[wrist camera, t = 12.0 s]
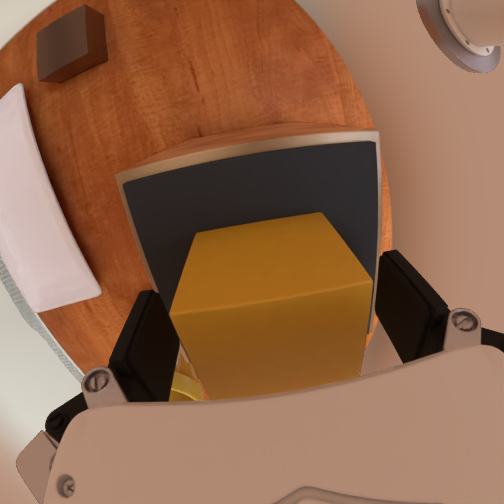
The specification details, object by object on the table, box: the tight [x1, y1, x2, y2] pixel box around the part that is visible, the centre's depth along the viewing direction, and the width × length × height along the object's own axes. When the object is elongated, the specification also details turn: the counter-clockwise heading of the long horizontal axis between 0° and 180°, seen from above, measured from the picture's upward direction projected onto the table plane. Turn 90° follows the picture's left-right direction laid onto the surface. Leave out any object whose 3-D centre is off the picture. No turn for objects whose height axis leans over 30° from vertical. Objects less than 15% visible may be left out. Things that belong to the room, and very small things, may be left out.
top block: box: [169, 212, 373, 400], centre depth 11 cm, size 6×6×6 cm
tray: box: [0, 83, 102, 313], centre depth 28 cm, size 17×31×4 cm, turn 16°
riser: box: [115, 122, 382, 362], centre depth 22 cm, size 12×12×19 cm
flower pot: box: [169, 351, 204, 402], centre depth 39 cm, size 10×10×10 cm
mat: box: [123, 141, 378, 363], centre depth 13 cm, size 11×11×1 cm
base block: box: [37, 4, 108, 83], centre depth 19 cm, size 7×7×5 cm
